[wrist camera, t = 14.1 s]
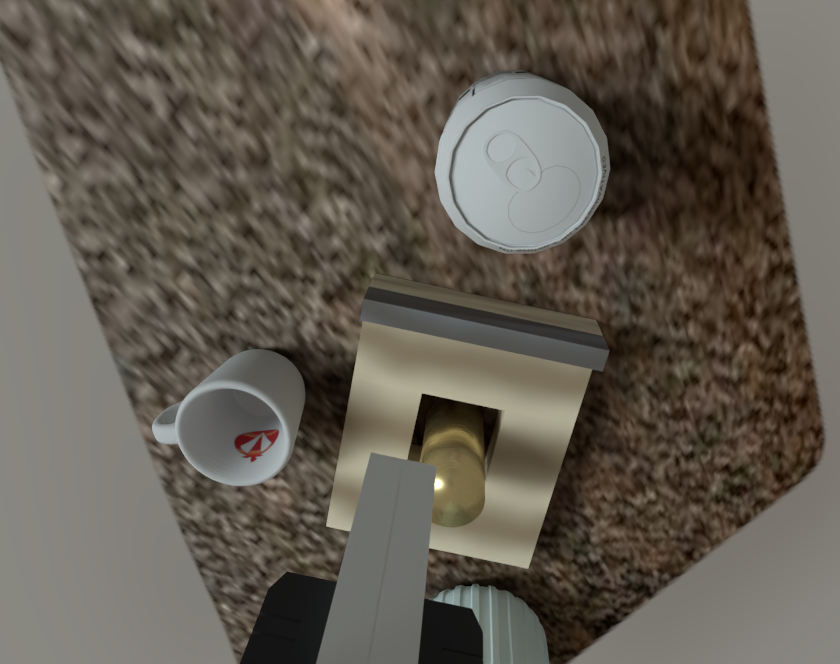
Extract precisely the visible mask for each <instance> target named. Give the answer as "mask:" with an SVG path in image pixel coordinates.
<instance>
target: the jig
mask: <svg viewBox="0 0 840 664" xmlns="http://www.w3.org/2000/svg"><path fill="white" fill-rule="evenodd" d="M360 320H361V321H363V324H362V329H361V335H360V340H359V346H358V351H357V357H356V363H355V368H354V374H353V379H352V385H351V391H350V396H349V402H348V407H347V413H346V419H345V424H344V430H343V435H342V441H341V446H340V452H339V458H338V463H337V469H336V474H335V480H334V486H333V491H332V497H331V502H330V508H329V513H328V519H327V525H326V526H327V527H332V528H336V529H341V530H346V531H351V527H352V523H353V519H354V515H355V512H356V508H357V504H358V500H359V496H360V492H361V488H362V485H363V481H364V477H365V473H366V469H367V465H368V461H369V458H370V454H371V452H372V453H377V454H381V455H386V456H391V457H396V458H400V459H405V460H410V461H415V462H419V463H420V460H421V452H422V446H421V445H416V444H411V440H412V436H413V431H414V427H415V422H416V418H417V413H418V409H419V404H420V400H421V395H422V393H423V394H428V395H432V396H437V397H442V398H447V399H451V400H456V401H461V402H466V403H470V404H475V405H480V406H485V407H489V408H494V409H499V410H498V414H497V418H496V421H495V425H494V429H493V432H492V436H491V440H490V443H489V447H488V451H487V454H486V458H485V459H484V466H485V504H484V508H483V510H482V512H481V513H480V515H479V516H478V517H477V518H476V519H475V520H474V521H472V522H470V523H469V524H466V525H464V526H460V527H443V526H439V525H437V524H434V523H432V522H431V531H430V542H429V548H432V549H437V550H441V551H446V552H451V553H456V554H461V555H465V556H470V557H475V558H480V559H484V560H489V561H494V562H499V563H503V564H508V565H513V566H518V567H523V568H527V569H528V567H529V564H530V561H531V558H532V555H533V552H534V549H535V546H536V543H537V539H538V536H539V533H540V530H541V527H542V524H543V521H544V518H545V515H546V512H547V508H548V505H549V502H550V499H551V496H552V493H553V490H554V487H555V484H556V481H557V477H558V474H559V471H560V468H561V465H562V462H563V459H564V456H565V453H566V450H567V446H568V443H569V440H570V437H571V434H572V431H573V428H574V425H575V422H576V419H577V415H578V412H579V409H580V406H581V403H582V400H583V397H584V394H585V391H586V388H587V384H588V381H589V378H590V375H591V372H592V369H593V370H598V371H602V372H603V369H604V366H605V363H606V360H607V357H608V354H609V348H608V346H607V344H606V341H605V339H604V337H603V335H602V332H601V330H600V328H599V325H598V323H597V321H596V320H594V319H589V318H584V317H580V316H575V315H570V314H565V313H561V312H556V311H551V310H547V309H542V308H537V307H532V306H528V305H523V304H518V303H513V302H509V301H504V300H499V299H495V298H490V297H485V296H480V295H476V294H471V293H466V292H462V291H457V290H452V289H447V288H443V287H438V286H433V285H428V284H424V283H419V282H414V281H410V280H405V279H400V278H395V277H391V276H386V275H381V274H377V273H375V274H374V277H373V279H372V281H371V283H370V286H369V288H368V290H367V292H366V295H365V297H364V300H363V305H362V311H361V317H360Z"/></svg>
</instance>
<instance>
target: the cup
mask: <svg viewBox="0 0 840 664" xmlns="http://www.w3.org/2000/svg"><path fill="white" fill-rule="evenodd" d="M304 404H305V386H304V382H303V379H302V376H301V374H300V373H299V371H298V369H297V368H296V367H295V366H294V364H293V363H292V362H291V361H289V360H288V359H287V358H285V357H284V356H282V355H280V354H278V353H276V352H273V351H270V350H264V349H252V350H247V351H244V352H241V353H239V354H237V355H235V356H233V357H232V358H230V359H229V360H227V361H226V362H225V363H224V364H223V365H221V366H220V367H219V368H218V369H217V370H216V371H214V372H213V373H212V374H211V375H210V376H208V377H207V378H206V379H205V380H204V381H203V382H201V383H200V384H199V385H198V386H197V387H196V388H194V389H193V390H192V391H191V392H190V393H189V394H188V395H187V396H186V397H185V399H184V400H183V401H182V402H179V403H177V404H174V405H172V406H170V407H169V408H167V409H166V410H164V411H163V412H162V413H161V414H159V415H158V416H157V418H156V419H155V420H154V422H153V425H152V430H153V433H154V435H155V438H156V439H157V441H159V442H160V443H164V444H179V447H180V449H181V451H182V453H183V454H184V456H185V457H186V459H187V460H188V461H189V462H190V463H191V464H192V465H193V466H194V467H195V468H196V469H197V470H198V471H199V472H201V473H202V474H204V475H205V476H207V477H209V478H211V479H213V480H215V481H217V482H220V483H224V484H228V485H234V486H249V485H255V484H259V483H262V482H265V481H267V480H269V479H271V478H272V477H274V476H275V475H277V474H278V473H279V472H280V471H281V470H282V469H283V468H284V466H285V465H286V464H287V462H288V460H289V459H290V456H291V454H292V451H293V447H294V443H295V440H296V436H297V432H298V428H299V424H300V420H301V416H302V413H303V409H304Z"/></svg>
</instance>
